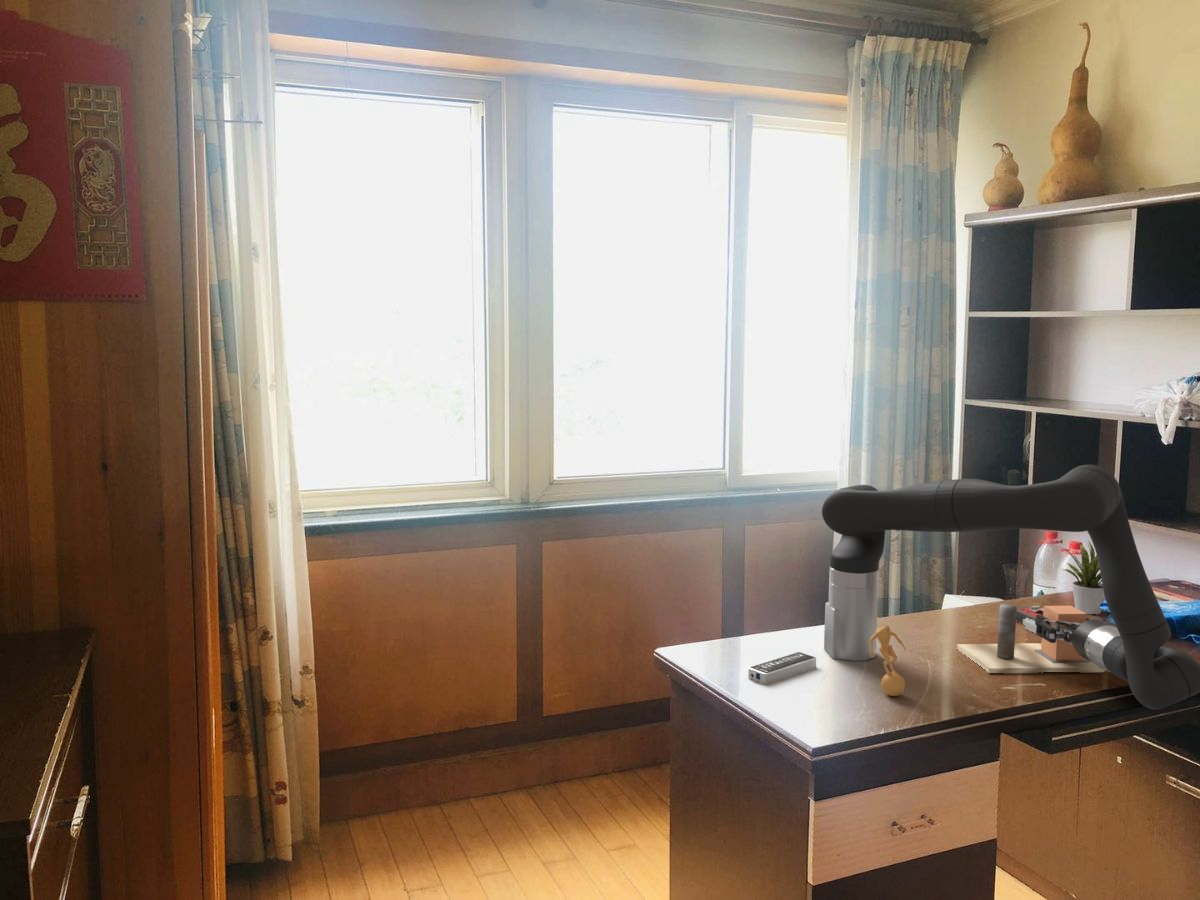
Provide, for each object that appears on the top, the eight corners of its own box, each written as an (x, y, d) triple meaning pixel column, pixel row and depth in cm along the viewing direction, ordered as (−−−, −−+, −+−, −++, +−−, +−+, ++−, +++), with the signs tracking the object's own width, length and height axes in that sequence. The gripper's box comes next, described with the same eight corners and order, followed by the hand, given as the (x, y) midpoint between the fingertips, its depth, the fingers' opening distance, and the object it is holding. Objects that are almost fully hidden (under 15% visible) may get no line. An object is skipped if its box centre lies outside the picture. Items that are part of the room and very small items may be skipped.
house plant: (1144, 618, 210) (1149, 546, 208) (1097, 624, 205) (1102, 550, 203) (1091, 601, 223) (1096, 533, 221) (1046, 607, 218) (1050, 537, 216)
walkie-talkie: (999, 620, 209) (1063, 649, 190) (1000, 601, 209) (1064, 627, 189) (1034, 617, 211) (1100, 645, 192) (1035, 598, 211) (1101, 624, 191)
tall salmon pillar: (1055, 660, 178) (1058, 614, 177) (1040, 650, 184) (1043, 605, 183) (1083, 659, 179) (1086, 613, 178) (1068, 650, 184) (1070, 605, 183)
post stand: (988, 673, 175) (991, 615, 173) (956, 649, 188) (959, 595, 187) (1104, 672, 175) (1108, 614, 174) (1064, 647, 189) (1067, 594, 188)
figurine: (884, 703, 160) (887, 635, 159) (858, 692, 165) (860, 625, 164) (918, 694, 164) (921, 627, 163) (891, 683, 169) (894, 618, 168)
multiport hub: (817, 669, 178) (817, 657, 178) (765, 686, 169) (765, 674, 169) (798, 663, 181) (798, 651, 181) (747, 679, 172) (747, 667, 172)
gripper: (1147, 625, 166) (1095, 599, 182) (1068, 626, 165) (1022, 600, 182) (1144, 666, 167) (1092, 637, 183) (1065, 667, 166) (1020, 638, 183)
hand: (1057, 619), depth 182 cm, fingers open, 7 cm apart
